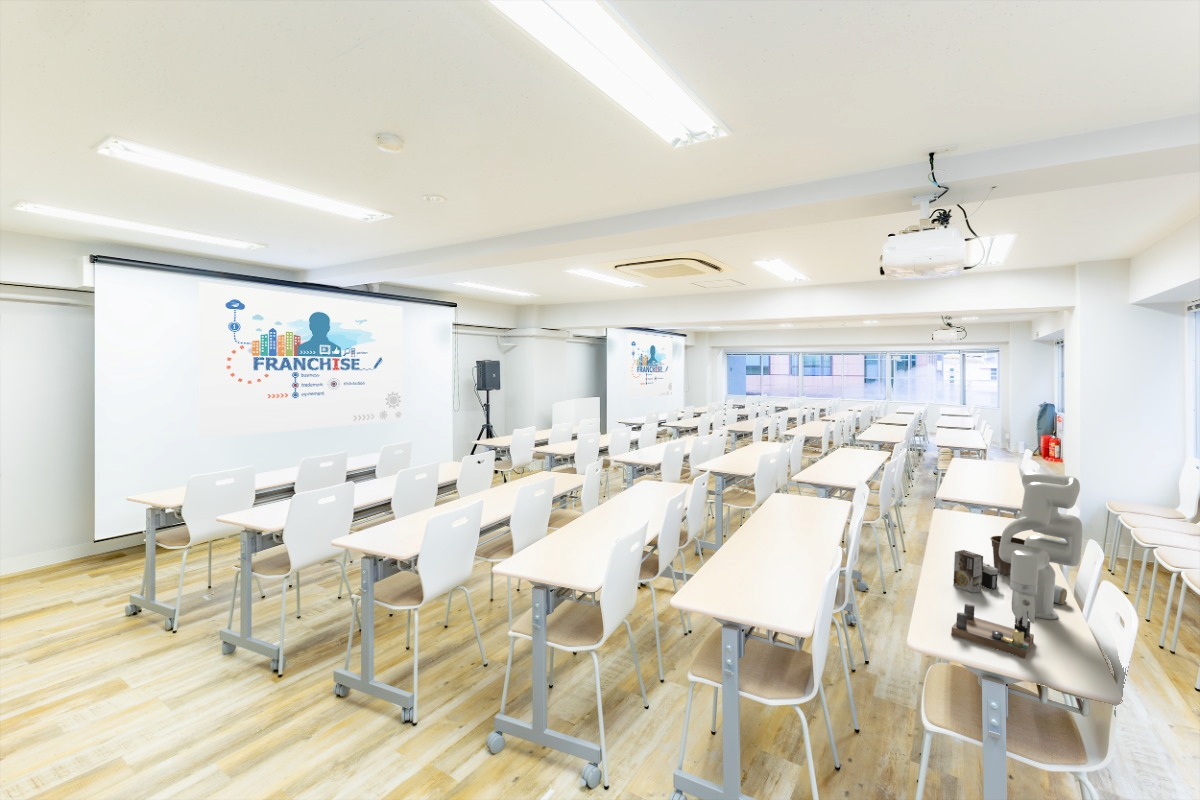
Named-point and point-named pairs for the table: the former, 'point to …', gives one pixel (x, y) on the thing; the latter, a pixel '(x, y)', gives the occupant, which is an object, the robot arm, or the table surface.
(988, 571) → the camera
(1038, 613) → the robot arm
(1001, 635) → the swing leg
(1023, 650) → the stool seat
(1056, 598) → the ceramic mug
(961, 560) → the coffee box
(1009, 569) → the plant pot
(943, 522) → the table surface
